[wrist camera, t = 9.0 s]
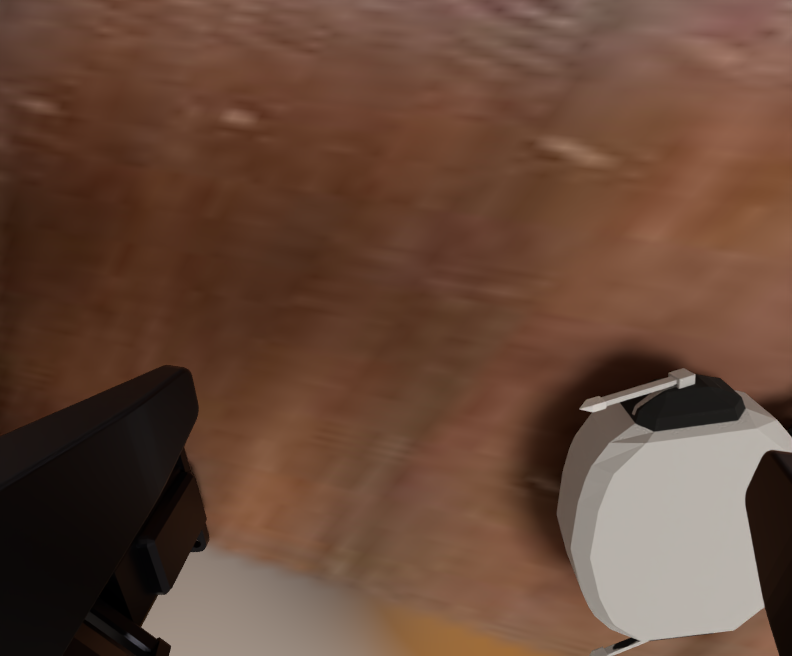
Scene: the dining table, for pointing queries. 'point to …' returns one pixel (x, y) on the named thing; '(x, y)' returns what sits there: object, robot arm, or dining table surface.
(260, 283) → the dining table surface
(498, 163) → the dining table surface
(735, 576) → the robot toy
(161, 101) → the dining table surface
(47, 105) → the dining table surface
